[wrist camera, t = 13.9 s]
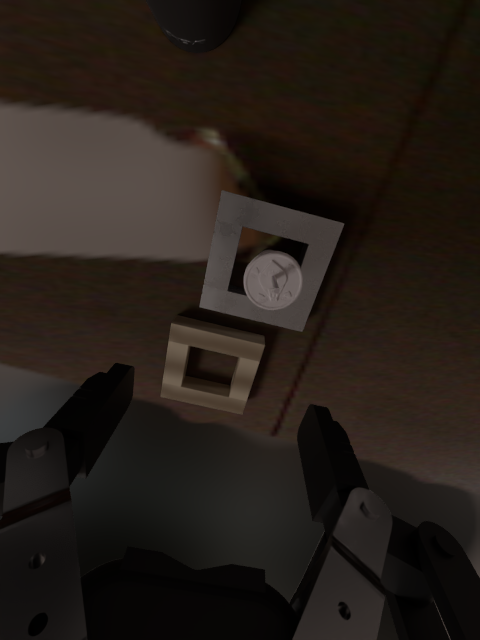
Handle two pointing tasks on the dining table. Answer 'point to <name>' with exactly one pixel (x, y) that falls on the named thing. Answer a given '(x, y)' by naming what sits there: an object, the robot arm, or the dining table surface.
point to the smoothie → (273, 280)
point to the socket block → (218, 340)
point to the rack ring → (276, 221)
